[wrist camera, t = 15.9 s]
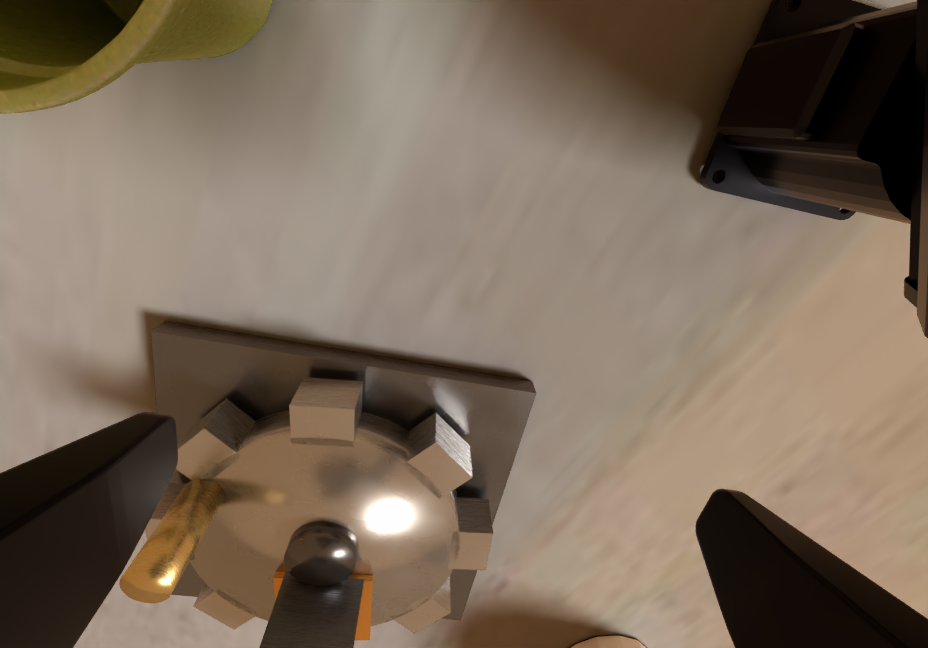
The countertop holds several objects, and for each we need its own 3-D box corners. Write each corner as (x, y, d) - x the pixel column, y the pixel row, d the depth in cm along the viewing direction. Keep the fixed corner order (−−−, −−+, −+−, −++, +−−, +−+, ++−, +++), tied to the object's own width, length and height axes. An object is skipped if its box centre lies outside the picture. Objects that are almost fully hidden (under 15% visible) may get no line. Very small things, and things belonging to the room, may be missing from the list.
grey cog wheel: (260, 312, 17) (178, 402, 12) (550, 478, 22) (588, 600, 16) (120, 541, 22) (15, 682, 16) (382, 640, 26) (366, 778, 21)
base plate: (532, 381, 21) (536, 393, 20) (459, 603, 27) (460, 619, 26) (165, 321, 19) (151, 331, 18) (180, 577, 25) (170, 594, 24)
